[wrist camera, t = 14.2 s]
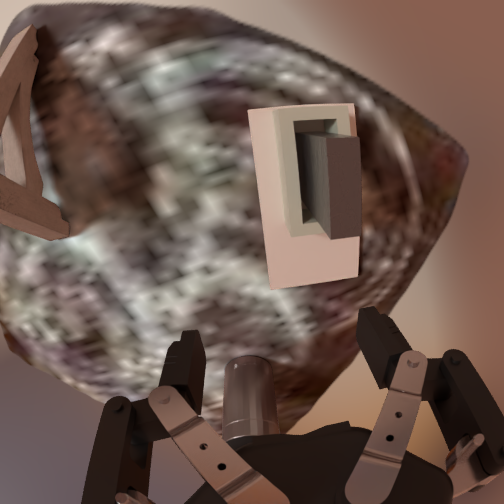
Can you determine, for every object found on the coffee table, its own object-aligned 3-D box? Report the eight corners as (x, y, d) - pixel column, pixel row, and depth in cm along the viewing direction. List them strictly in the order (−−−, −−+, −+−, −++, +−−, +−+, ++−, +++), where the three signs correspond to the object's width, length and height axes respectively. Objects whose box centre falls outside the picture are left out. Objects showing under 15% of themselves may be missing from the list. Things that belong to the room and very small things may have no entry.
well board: (355, 273, 44) (370, 295, 39) (270, 286, 45) (274, 311, 39) (351, 104, 33) (371, 101, 28) (247, 110, 34) (248, 107, 28)
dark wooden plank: (294, 132, 34) (325, 138, 22) (317, 131, 34) (359, 137, 21) (300, 199, 38) (330, 239, 25) (322, 197, 38) (361, 236, 25)
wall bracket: (87, 93, 44) (69, 236, 39) (70, 101, 44) (50, 240, 39) (32, 23, 22) (-39, 191, 17) (13, 36, 22) (-53, 202, 17)
